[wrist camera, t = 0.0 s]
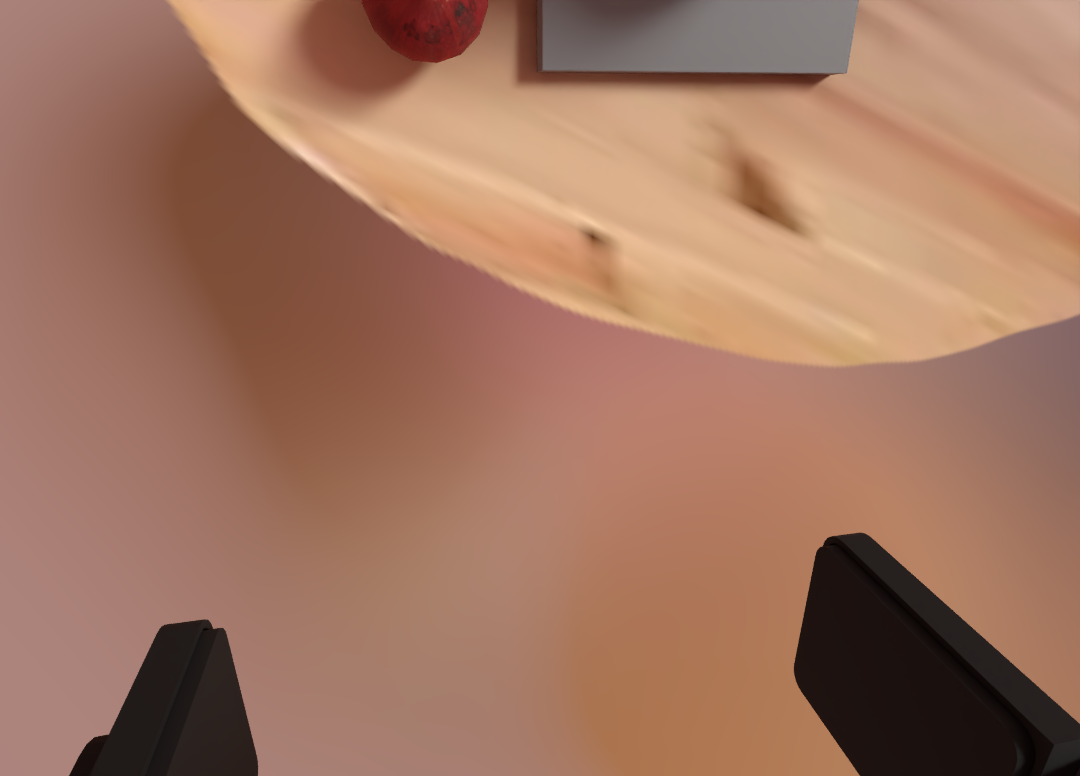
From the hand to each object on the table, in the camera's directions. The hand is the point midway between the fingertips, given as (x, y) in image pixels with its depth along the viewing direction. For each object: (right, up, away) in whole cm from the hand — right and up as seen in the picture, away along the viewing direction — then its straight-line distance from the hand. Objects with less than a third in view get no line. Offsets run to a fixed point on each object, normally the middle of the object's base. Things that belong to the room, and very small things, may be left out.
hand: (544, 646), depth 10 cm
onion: (-6, +24, +23) cm, 34 cm away
